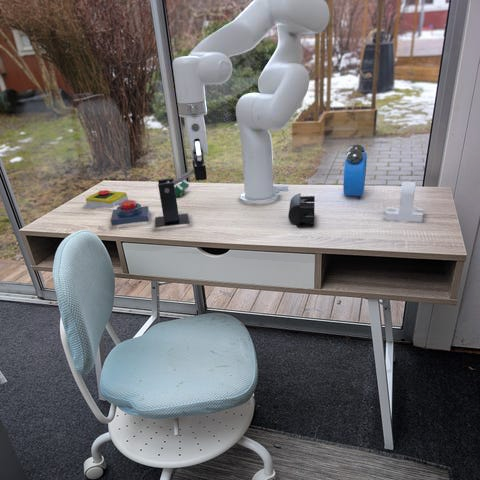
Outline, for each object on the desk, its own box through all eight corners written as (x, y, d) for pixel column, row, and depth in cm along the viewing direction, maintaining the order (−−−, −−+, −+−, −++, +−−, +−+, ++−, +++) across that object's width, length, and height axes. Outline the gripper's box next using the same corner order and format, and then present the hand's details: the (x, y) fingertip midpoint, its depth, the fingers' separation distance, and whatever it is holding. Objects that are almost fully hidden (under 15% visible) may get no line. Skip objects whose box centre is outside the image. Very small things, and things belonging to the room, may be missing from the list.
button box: (149, 213, 151) (147, 200, 149) (149, 224, 144) (146, 209, 141) (114, 218, 150) (111, 204, 148) (112, 228, 143) (109, 214, 140)
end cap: (290, 215, 141) (289, 193, 137) (314, 215, 140) (314, 192, 136) (288, 228, 133) (288, 205, 129) (314, 228, 132) (314, 204, 128)
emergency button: (97, 186, 166) (132, 189, 160) (100, 198, 168) (134, 202, 162) (79, 194, 159) (115, 198, 153) (82, 207, 161) (118, 211, 155)
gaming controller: (172, 204, 163) (182, 192, 159) (164, 196, 162) (174, 184, 159) (182, 195, 170) (192, 183, 167) (174, 187, 169) (184, 176, 166)
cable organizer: (422, 221, 130) (427, 185, 125) (384, 219, 133) (388, 184, 128) (423, 215, 134) (428, 179, 129) (386, 213, 137) (390, 178, 132)
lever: (202, 167, 138) (198, 159, 136) (204, 172, 133) (199, 164, 132) (164, 190, 140) (160, 183, 138) (165, 196, 135) (160, 189, 134)
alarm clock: (362, 202, 146) (365, 152, 138) (341, 201, 148) (343, 152, 140) (364, 188, 156) (368, 141, 148) (345, 188, 158) (347, 141, 150)
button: (136, 205, 147) (135, 199, 146) (135, 209, 143) (134, 204, 142) (122, 206, 146) (121, 201, 145) (121, 211, 143) (120, 205, 142)
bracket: (188, 217, 146) (182, 175, 139) (189, 226, 140) (183, 183, 133) (155, 220, 145) (148, 179, 138) (155, 230, 139) (148, 187, 132)
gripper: (209, 112, 120) (216, 184, 129) (203, 102, 134) (210, 167, 144) (179, 115, 119) (189, 187, 129) (177, 105, 133) (185, 170, 143)
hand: (200, 176), depth 136 cm, fingers closed on lever, 5 cm apart
